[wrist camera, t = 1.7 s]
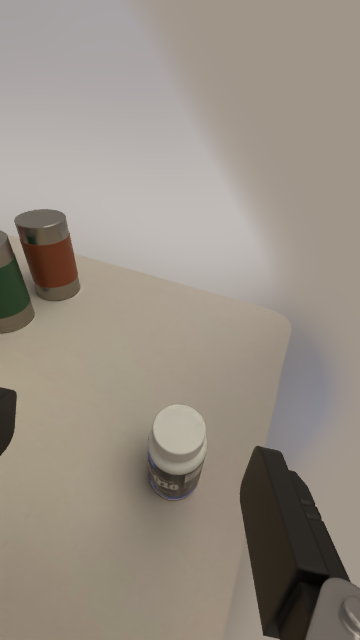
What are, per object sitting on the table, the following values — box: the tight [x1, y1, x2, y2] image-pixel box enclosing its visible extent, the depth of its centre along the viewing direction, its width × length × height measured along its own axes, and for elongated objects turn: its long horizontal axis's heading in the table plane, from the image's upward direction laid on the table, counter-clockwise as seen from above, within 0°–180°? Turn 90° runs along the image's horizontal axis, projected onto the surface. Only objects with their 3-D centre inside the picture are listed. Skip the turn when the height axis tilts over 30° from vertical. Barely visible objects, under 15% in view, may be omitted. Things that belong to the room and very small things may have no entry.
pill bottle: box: [148, 404, 207, 500], centre depth 24 cm, size 5×5×8 cm
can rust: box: [14, 209, 80, 301], centre depth 44 cm, size 7×7×12 cm
